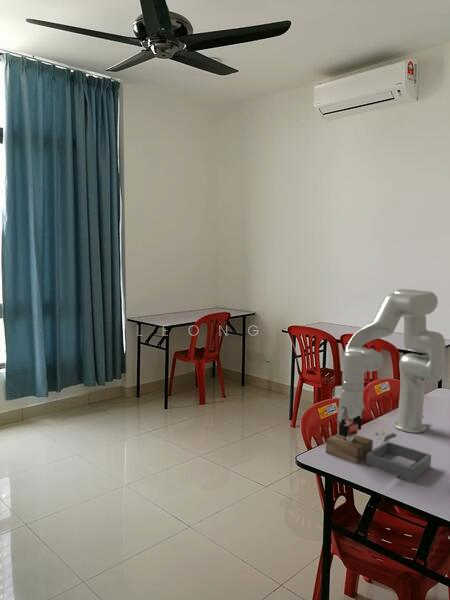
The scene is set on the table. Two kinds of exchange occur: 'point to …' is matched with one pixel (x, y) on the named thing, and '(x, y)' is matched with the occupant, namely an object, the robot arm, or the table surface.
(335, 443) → the eye block
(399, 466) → the tray
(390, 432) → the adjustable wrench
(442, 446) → the table surface
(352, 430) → the red knob with stem
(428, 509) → the table surface
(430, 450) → the table surface
